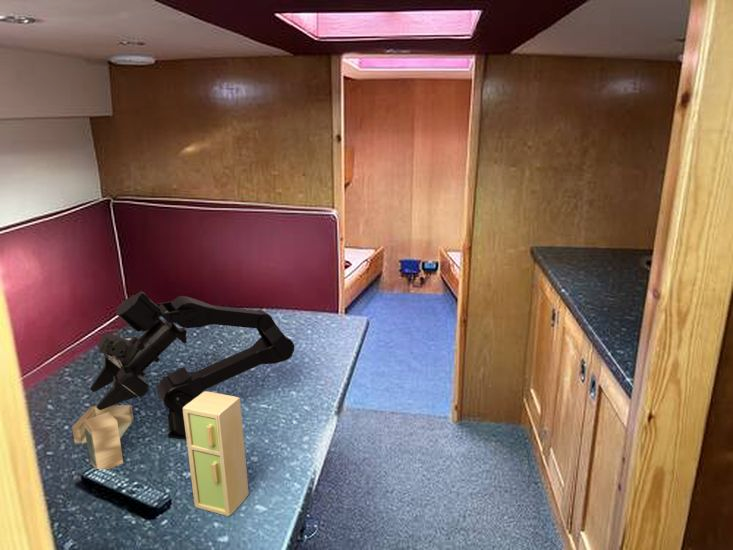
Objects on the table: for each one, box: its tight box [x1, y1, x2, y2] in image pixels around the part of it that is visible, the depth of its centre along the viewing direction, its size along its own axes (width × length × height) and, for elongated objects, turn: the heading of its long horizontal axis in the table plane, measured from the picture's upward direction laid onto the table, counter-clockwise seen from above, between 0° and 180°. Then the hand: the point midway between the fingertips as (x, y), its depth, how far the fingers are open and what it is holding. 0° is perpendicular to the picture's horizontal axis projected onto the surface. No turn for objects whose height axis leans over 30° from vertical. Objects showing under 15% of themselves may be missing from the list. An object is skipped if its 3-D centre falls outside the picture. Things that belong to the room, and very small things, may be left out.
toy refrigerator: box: [183, 390, 250, 517], centre depth 102 cm, size 8×7×21 cm
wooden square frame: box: [71, 404, 134, 444], centre depth 128 cm, size 10×10×4 cm
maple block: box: [84, 412, 124, 470], centre depth 116 cm, size 5×5×10 cm
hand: (94, 399), depth 116 cm, fingers open, 9 cm apart
